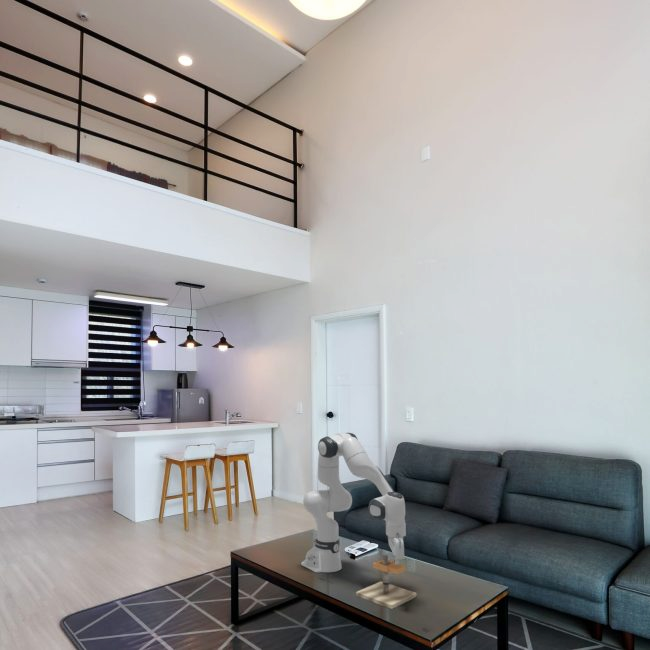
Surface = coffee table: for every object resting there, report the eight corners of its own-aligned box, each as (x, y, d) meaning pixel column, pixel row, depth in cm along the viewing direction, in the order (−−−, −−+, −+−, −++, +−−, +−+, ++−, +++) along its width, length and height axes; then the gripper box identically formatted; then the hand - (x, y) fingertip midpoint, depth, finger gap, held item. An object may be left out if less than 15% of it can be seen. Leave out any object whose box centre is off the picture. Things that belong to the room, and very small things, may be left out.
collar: (373, 567, 225) (373, 563, 225) (384, 563, 230) (384, 558, 231) (395, 574, 216) (395, 570, 216) (406, 570, 222) (406, 565, 222)
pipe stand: (356, 595, 224) (355, 555, 226) (381, 584, 236) (380, 546, 239) (391, 609, 210) (391, 566, 212) (416, 596, 223) (415, 556, 225)
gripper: (407, 537, 212) (408, 571, 211) (398, 524, 233) (399, 555, 231) (392, 537, 212) (393, 571, 210) (385, 524, 232) (385, 556, 231)
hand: (396, 563), depth 221 cm, fingers closed
